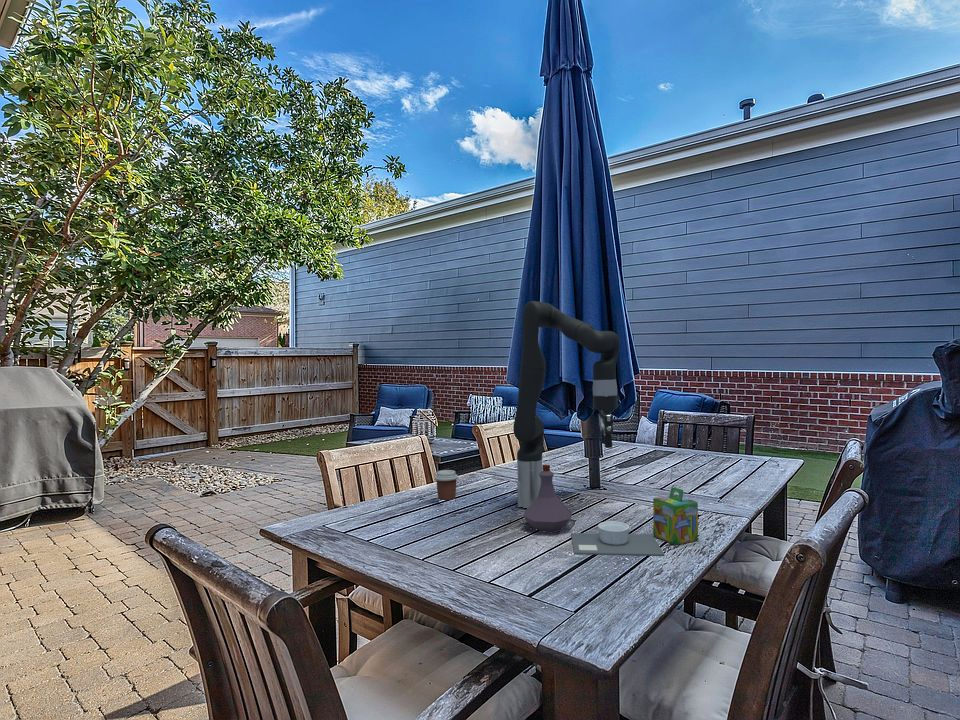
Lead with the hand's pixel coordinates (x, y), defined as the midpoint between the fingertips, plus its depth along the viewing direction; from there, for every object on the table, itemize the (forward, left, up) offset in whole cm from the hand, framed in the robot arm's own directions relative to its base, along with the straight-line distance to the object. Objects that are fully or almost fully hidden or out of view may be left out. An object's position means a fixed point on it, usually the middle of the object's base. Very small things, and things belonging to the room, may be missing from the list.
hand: (606, 445), depth 160 cm
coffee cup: (-57, +27, -26) cm, 68 cm away
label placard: (0, -14, -26) cm, 30 cm away
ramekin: (0, -12, -26) cm, 29 cm away
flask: (-19, 0, -26) cm, 33 cm away
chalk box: (+18, -8, -26) cm, 33 cm away
